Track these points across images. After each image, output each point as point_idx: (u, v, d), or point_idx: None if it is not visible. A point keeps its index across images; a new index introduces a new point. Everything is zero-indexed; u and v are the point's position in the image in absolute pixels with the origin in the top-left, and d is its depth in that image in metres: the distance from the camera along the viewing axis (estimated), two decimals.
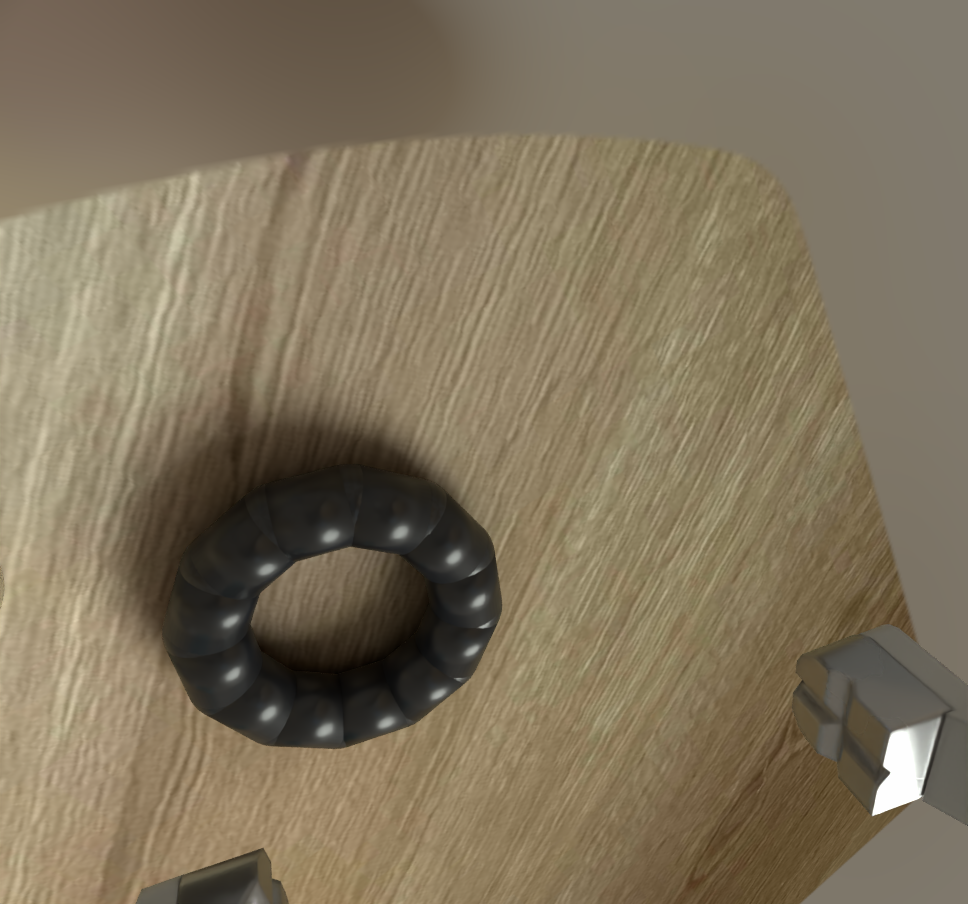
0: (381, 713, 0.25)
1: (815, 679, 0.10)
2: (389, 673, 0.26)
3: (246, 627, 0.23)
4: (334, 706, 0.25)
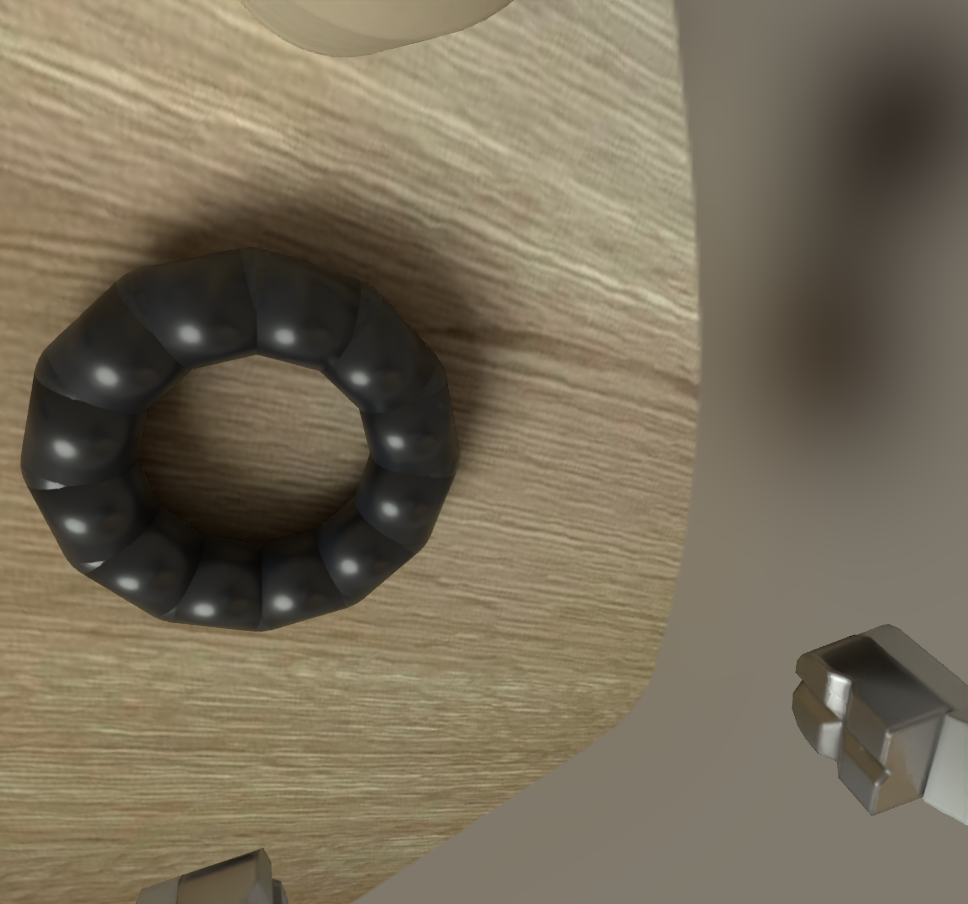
0: (114, 528, 0.18)
1: (815, 679, 0.10)
2: (161, 521, 0.19)
3: (274, 357, 0.18)
4: (116, 464, 0.18)
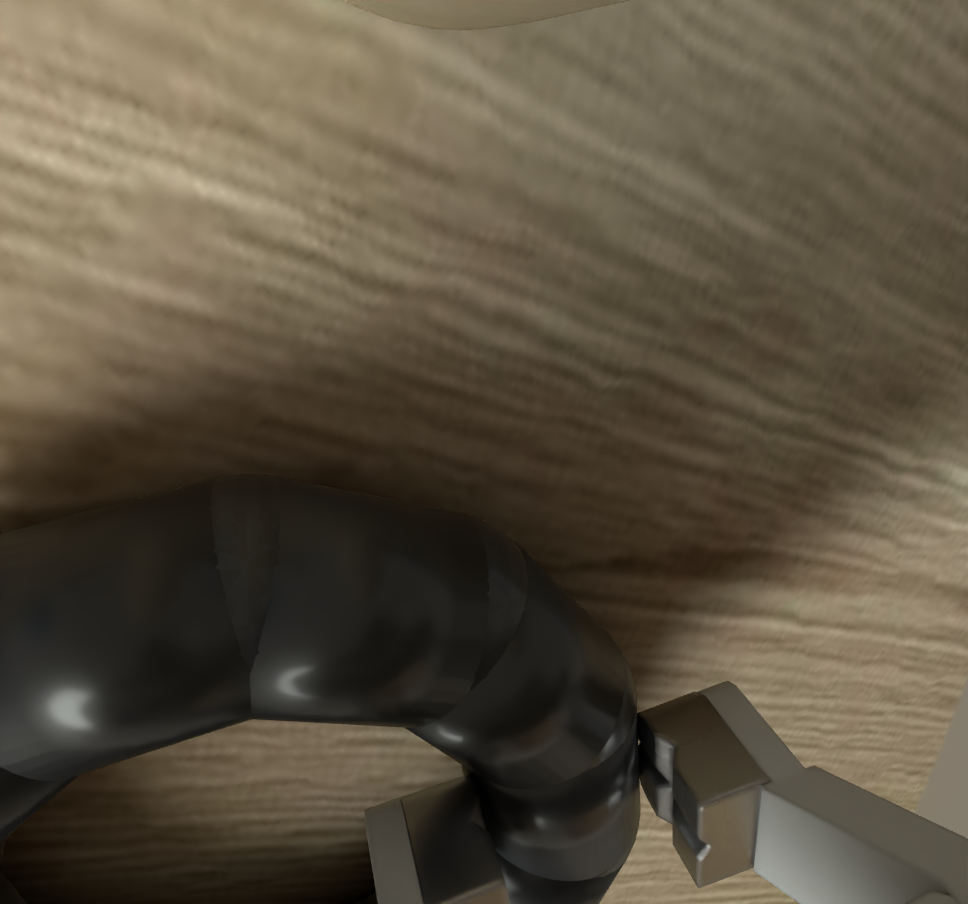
0: None
1: (647, 740, 0.10)
2: None
3: None
4: None
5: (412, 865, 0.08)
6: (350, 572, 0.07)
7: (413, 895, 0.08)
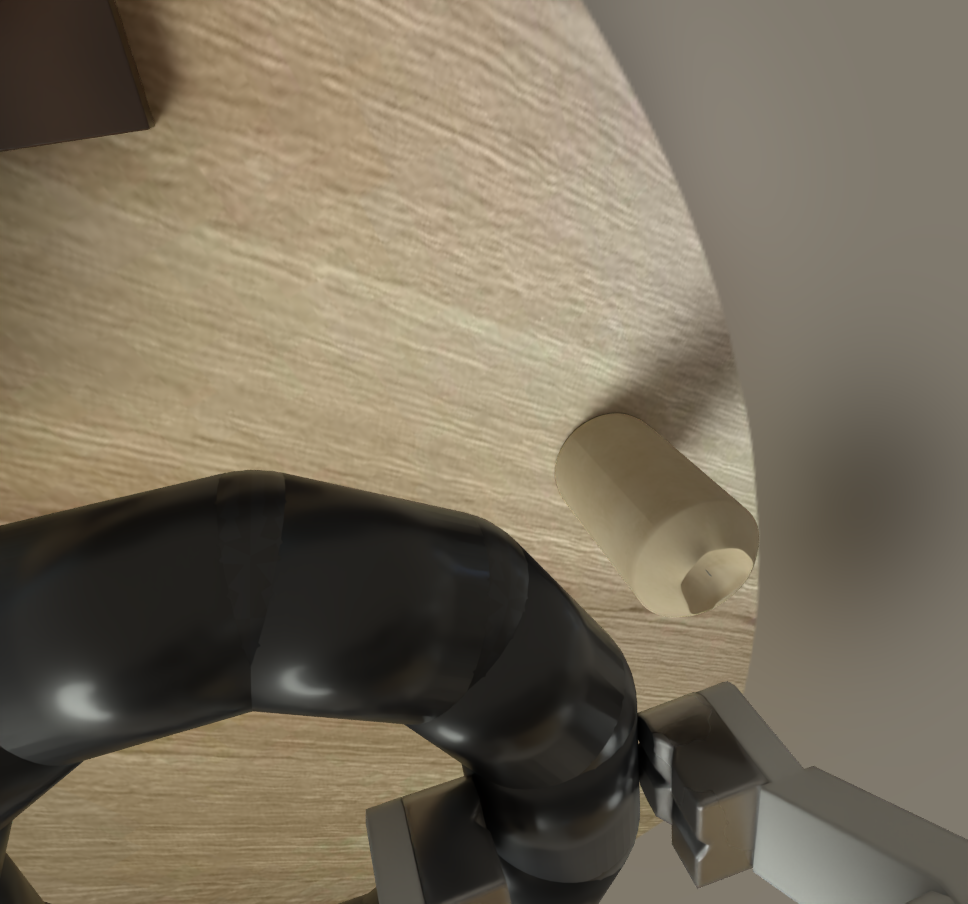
0: None
1: (646, 741, 0.10)
2: None
3: None
4: None
5: (413, 865, 0.08)
6: (351, 569, 0.07)
7: (414, 895, 0.08)
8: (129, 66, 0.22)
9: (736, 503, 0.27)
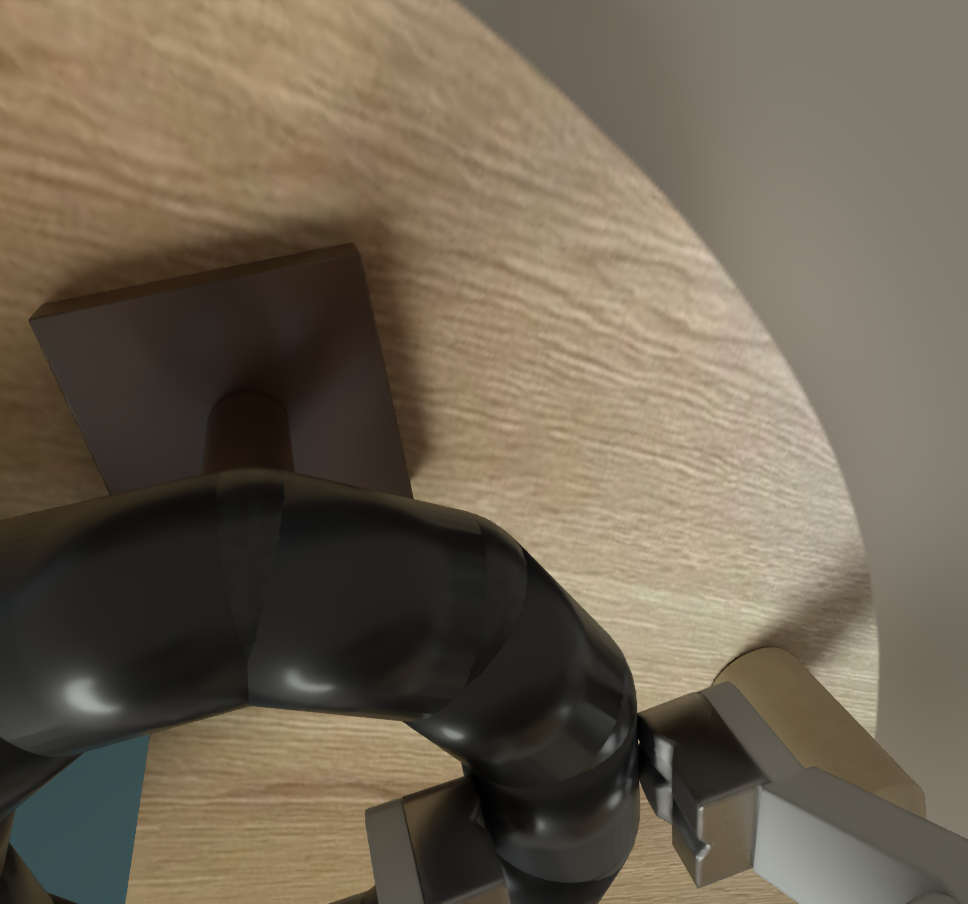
0: None
1: (646, 741, 0.10)
2: None
3: None
4: None
5: (412, 865, 0.08)
6: (348, 565, 0.07)
7: (413, 895, 0.08)
8: (405, 464, 0.24)
9: (910, 782, 0.30)
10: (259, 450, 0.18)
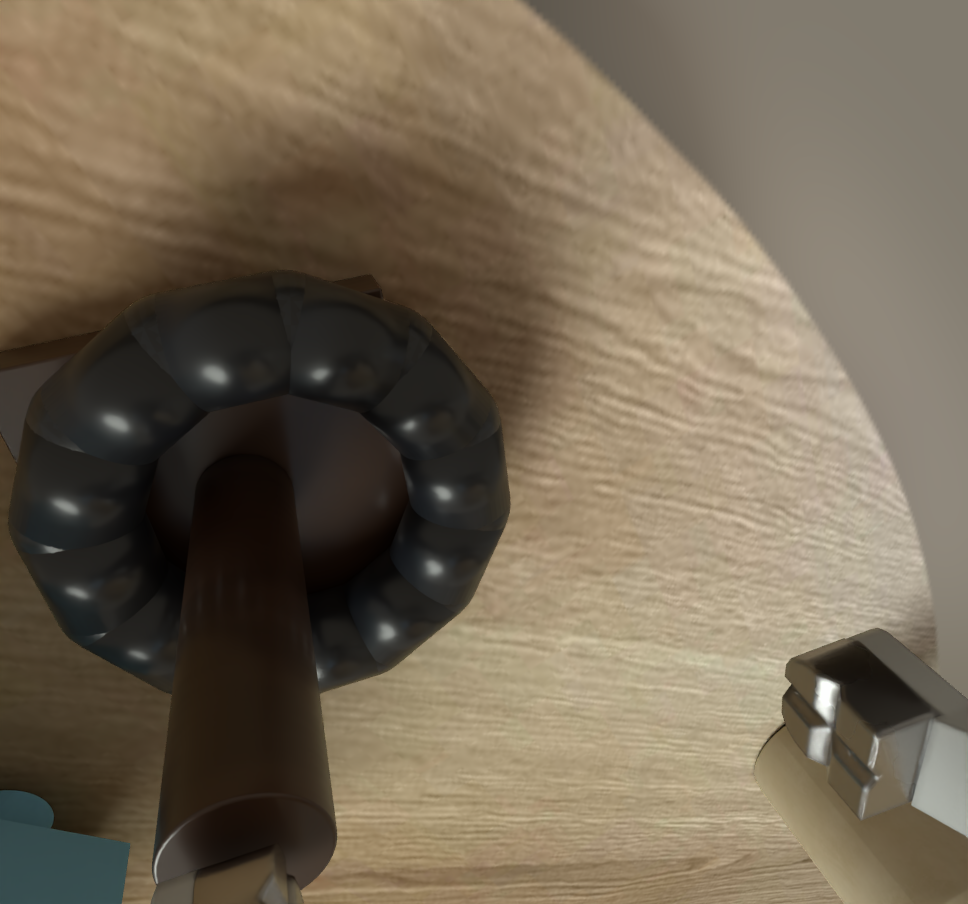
0: (117, 596, 0.16)
1: (804, 683, 0.10)
2: (172, 583, 0.17)
3: (308, 398, 0.15)
4: (121, 521, 0.15)
5: None
6: (338, 310, 0.15)
7: None
8: None
9: None
10: (259, 544, 0.14)
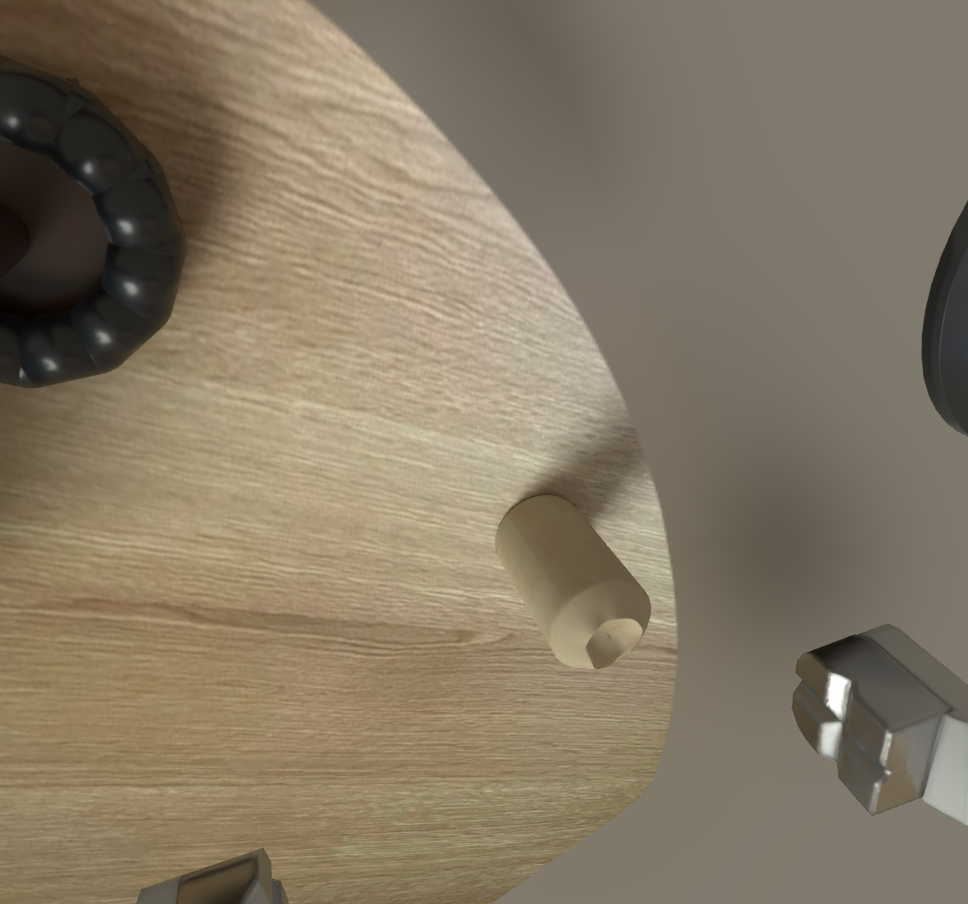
0: None
1: (815, 679, 0.10)
2: None
3: (5, 139, 0.23)
4: None
5: None
6: (14, 72, 0.23)
7: None
8: None
9: (629, 581, 0.35)
10: None
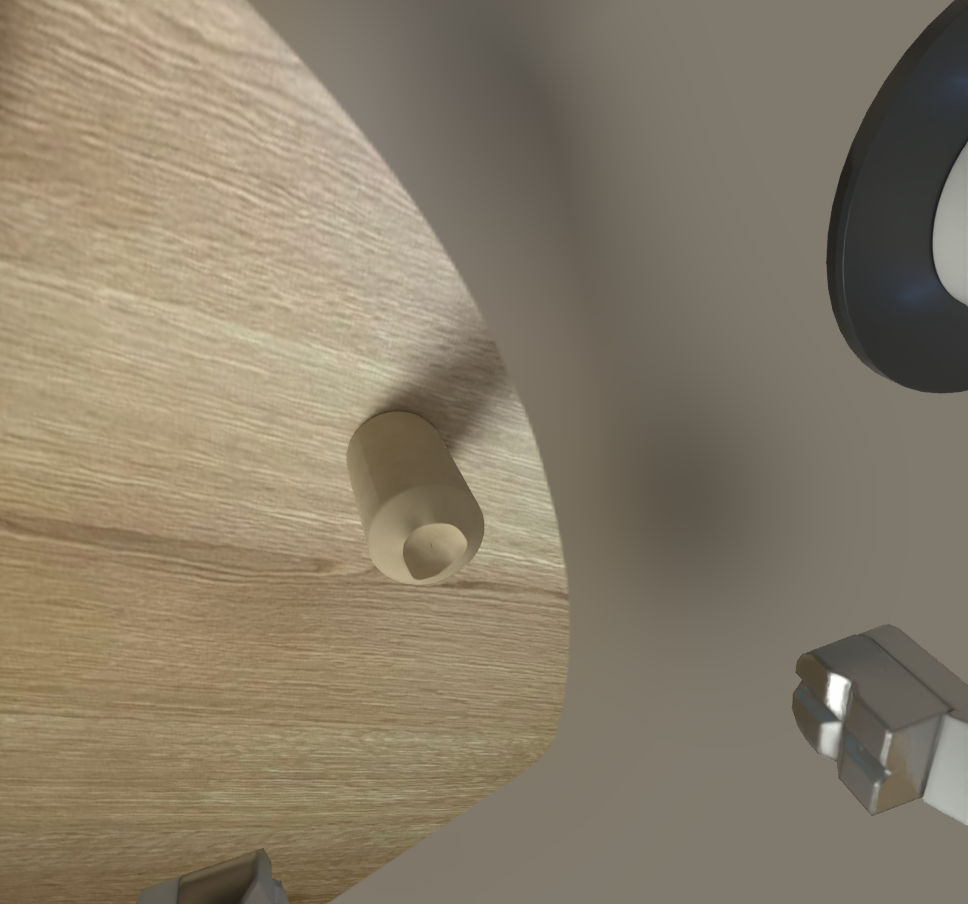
0: None
1: (815, 679, 0.10)
2: None
3: None
4: None
5: None
6: None
7: None
8: None
9: (454, 486, 0.32)
10: None
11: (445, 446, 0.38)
